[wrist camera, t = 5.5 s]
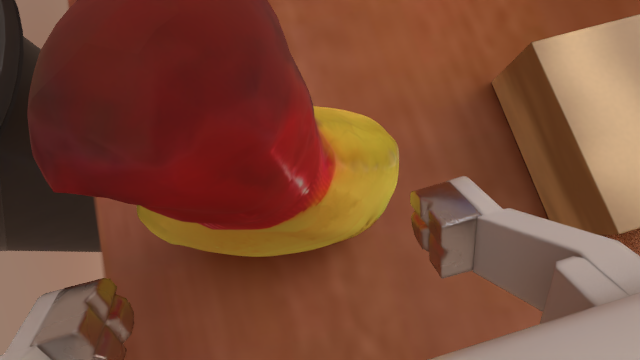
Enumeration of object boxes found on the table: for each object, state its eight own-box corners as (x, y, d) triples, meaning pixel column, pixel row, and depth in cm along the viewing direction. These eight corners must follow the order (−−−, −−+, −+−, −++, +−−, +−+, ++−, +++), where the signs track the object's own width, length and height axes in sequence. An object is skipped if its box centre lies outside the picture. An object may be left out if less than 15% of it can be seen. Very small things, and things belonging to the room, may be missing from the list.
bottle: (203, 268, 23) (-438, 346, 3) (196, 175, 24) (-298, -151, 5) (381, 241, 23) (703, 178, 4) (365, 151, 25) (545, -232, 5)
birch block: (556, 238, 24) (619, 234, 19) (490, 82, 26) (531, 41, 21) (714, 191, 24) (813, 175, 20) (635, 43, 27) (707, -4, 22)
